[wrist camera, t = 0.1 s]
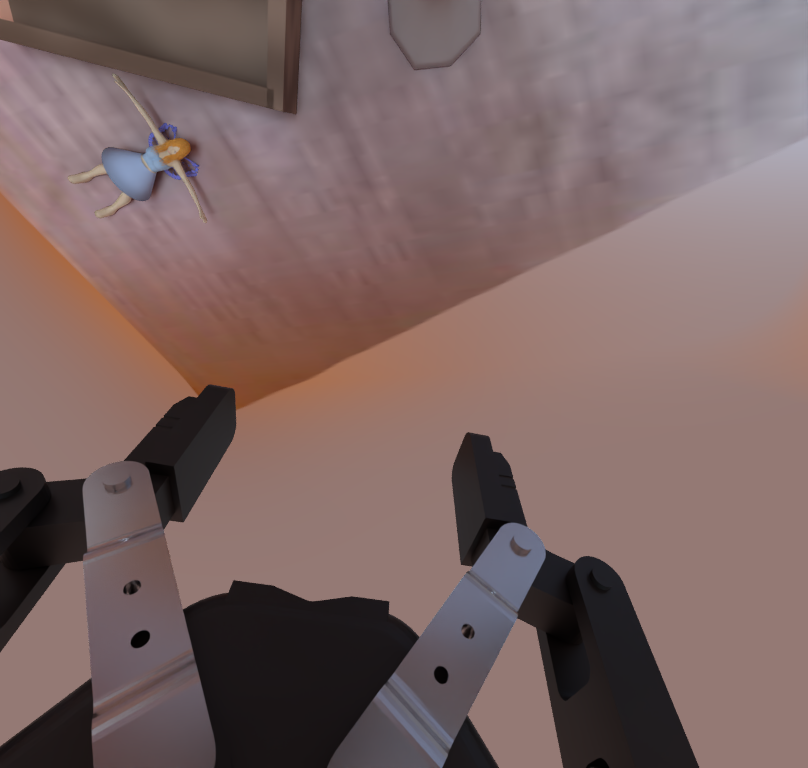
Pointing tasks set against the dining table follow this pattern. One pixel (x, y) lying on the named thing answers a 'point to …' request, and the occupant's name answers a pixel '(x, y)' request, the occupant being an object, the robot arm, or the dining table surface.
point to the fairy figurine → (141, 165)
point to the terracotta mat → (5, 11)
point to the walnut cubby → (175, 41)
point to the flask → (434, 29)
